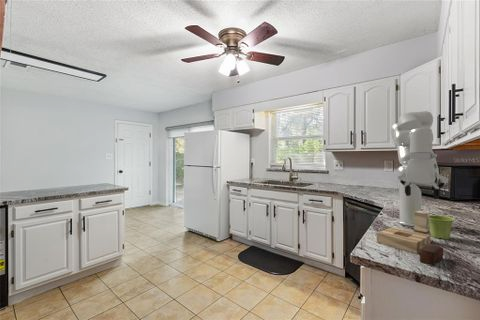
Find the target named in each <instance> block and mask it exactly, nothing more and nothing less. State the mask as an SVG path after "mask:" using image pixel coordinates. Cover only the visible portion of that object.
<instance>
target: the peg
mask: <svg viewBox="0 0 480 320" xmlns="http://www.w3.org/2000/svg"><path fill="white" fill-rule="evenodd" d="M429 215H430V211H429V212H428V211H416V212H414V221H415V226H414V230H413V232H417V233H422V234H427V235H430V236H431V231H430V221H429Z"/></svg>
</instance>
